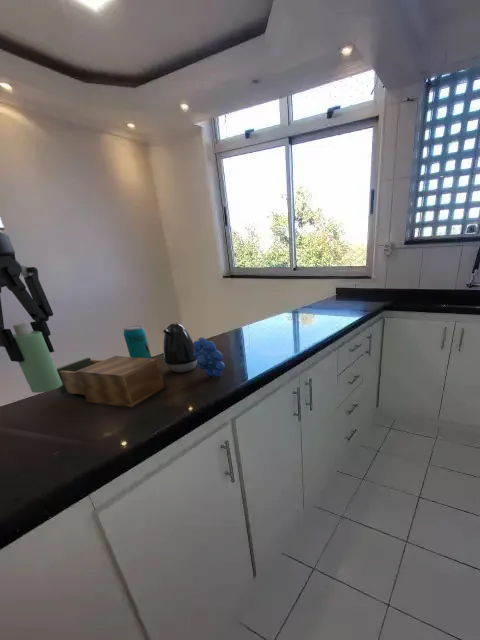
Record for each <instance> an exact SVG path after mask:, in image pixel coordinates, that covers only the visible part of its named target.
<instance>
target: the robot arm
mask: <svg viewBox="0 0 480 640" xmlns="http://www.w3.org/2000/svg"><path fill="white" fill-rule="evenodd" d="M5 229H6V227H5V224H4V222H3V219H2V217H1V216H0V294H1V293H2V288H7V290H8V291H10V292H11V293H12V294H13V296H14V297H15V298H16V299H17V300H18V302H19V303H20V304H21V306H22V307H23V308H24V310H25V311H26V312H27V314H28V315H29V316H30V318H31V319H32V320H33V321H30V322H29V324H30V327H31V329H32V331H41V333H42V335H43V337H44V340H45V342H46V345H47V347H48V350H49V352H50V354H51V353H55V349H54V347H53V344H52V341H51V339H50V337H49V336H51V331H50V328H49V326H48V323H47V322H48V321H50V317H53V316H54V312H53V309H52V307H51V304H50V302H49V300H48V297H47V295H46V293H45V291H44V288H43V286H42V284H41V281H40V280H39V269H38V268H37V267H36V266H27V265H22V263H20V262H19V261H18V259H17V258H16V252H15V249H14V246H13V244H12V241H11V239H10V236H9V235H7V233H4V232H3V231H5ZM20 277H23V279H24V282H23V280H22V279H21V278H20ZM24 283H25V284H24ZM26 288H27V289H28V290H27V289H26ZM13 334H14V333H13V332H12V330H11V328H5V322H4V313H3V306H2V298H1V296H0V347H1V348H4V349H5V351H6V353H7V356H8V357H9V360H10V362H17V363H18V362H22V361H24V359H23V356H22V354H21V352H20V350H19V347H18V345H17V343H16V341H15V339H14V336H13Z"/></svg>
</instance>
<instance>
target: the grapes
mask: <svg viewBox="0 0 480 640" xmlns="http://www.w3.org/2000/svg"><path fill="white" fill-rule="evenodd" d="M193 347H194V349H195V350H194V351H193V356H194V358H195V359H197V366H198V367H197V368H199V369H200V370H203V371H204V373H205V374H206V375H207V376H209V377H213V376H214V377H216V378H220V377H221V376H222V373H223V371H224V370H225V369H226V366H225V363H224V362H223V361H222V360H223V359H224V358H223V353H222V351H220V350H217V346H216V344H215V343H214V342H213V341H211V340H207V338H205V337H199V338H198V339H197V340H194V341H193Z"/></svg>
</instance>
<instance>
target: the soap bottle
mask: <svg viewBox="0 0 480 640" xmlns="http://www.w3.org/2000/svg"><path fill="white" fill-rule="evenodd" d="M12 328H13V330H14V332H15V333H12V334H13V336H14V339H15V341H16V343H17V345H18V347H19V350H20V352H21V354H22V356H23V359H24V361H22V362H17V363H18V365H19V367H20V369H21V372H22V373H23V376H24V378H25V380H26V383H27V384H28V386H29V389H30V391H31V392H32V393H35V394H39V393H41V394H42V393H46V392H50V391H53V390H57V388H59V387H61V386H62V381H61V379H60V377H59V374H58V372H57V367H56V365H55V362H54V360H53V357H52V355H51V353H50V352H49V350H48V347H47V345H46V342H45V340H44V337H43V335H42V333H41V331H33V330H31V328H30V326H29V323H26V322H23V323H16V324H12Z"/></svg>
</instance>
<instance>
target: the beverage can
mask: <svg viewBox="0 0 480 640" xmlns="http://www.w3.org/2000/svg"><path fill="white" fill-rule="evenodd" d="M123 337H124V341H125V344H126V347H127V351H128V354H129V355H128V356H129V357H137V358H151V359H153V358H152V355H151V351H150V347H149V343H148V339H147V335H146V332H145V329H144V328H143V326H142V325H130V326H126V327H125V326H124V327H123Z"/></svg>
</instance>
